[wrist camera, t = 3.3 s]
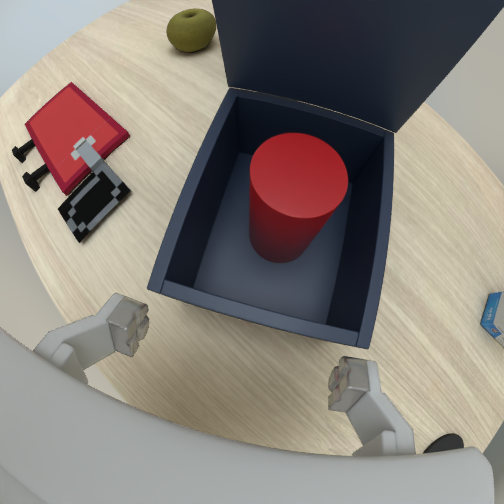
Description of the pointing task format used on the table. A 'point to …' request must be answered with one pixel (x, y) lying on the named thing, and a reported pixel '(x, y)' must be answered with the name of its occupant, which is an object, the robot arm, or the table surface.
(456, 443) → the coaster
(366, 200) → the dark blue open box
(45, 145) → the red board with handle
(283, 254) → the can
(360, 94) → the lid
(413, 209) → the table surface
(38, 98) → the table surface
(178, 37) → the apple
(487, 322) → the ink box
